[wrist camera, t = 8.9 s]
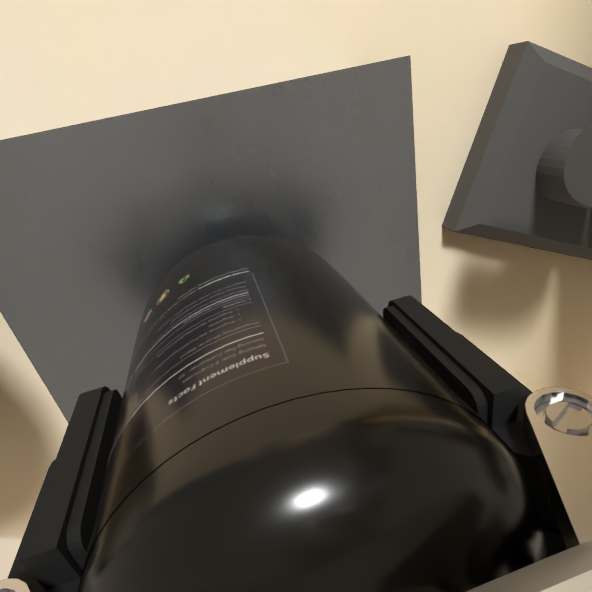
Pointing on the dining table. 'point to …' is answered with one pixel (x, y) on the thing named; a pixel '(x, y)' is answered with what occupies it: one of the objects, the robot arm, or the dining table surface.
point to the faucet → (531, 157)
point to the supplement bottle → (296, 445)
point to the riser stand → (200, 207)
